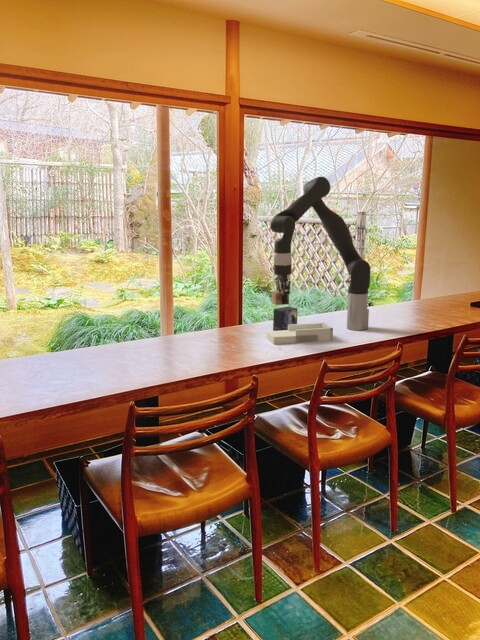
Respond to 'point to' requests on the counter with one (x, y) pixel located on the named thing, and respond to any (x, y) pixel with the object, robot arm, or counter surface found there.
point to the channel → (301, 333)
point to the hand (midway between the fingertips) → (282, 302)
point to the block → (278, 298)
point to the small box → (284, 318)
